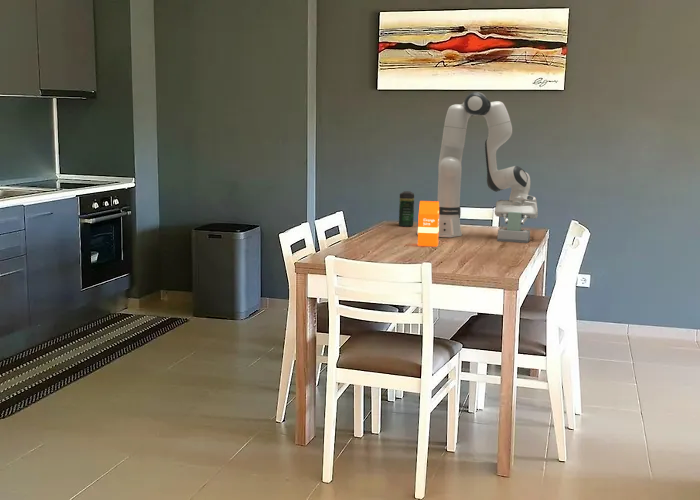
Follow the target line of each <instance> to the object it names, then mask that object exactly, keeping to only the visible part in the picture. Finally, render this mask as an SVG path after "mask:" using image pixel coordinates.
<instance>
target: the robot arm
mask: <svg viewBox="0 0 700 500" xmlns="http://www.w3.org/2000/svg"><path fill="white" fill-rule="evenodd" d="M464 98H465V99H464V101H463V102H462V103H461V104H460V103H459V104H458V103H455V104H452V105H450V106H449V107H448V109H447V112H446V115H445V119H444V124H443V125H444V126H443V131H442V137H441V146H440V152H439V157H438V159H439V160H438V172H437V173H438V177H437V198H436V199H437V201H439V238H455V237H461V236H463V234H462V233H463V232H462V229H461V221H460V220H461V219H460V218H461V215H462V213H461V212H462V209H461V206H460V204H461V188H462V187H461V186H462V185H461V184H462V160H463V154H464V148H465V144H466V136H467V135H466V134H467V129H468V128H467V127H468V123H469V122H468V121H469V119H470V118H471V117H474V116H483V118H484V119H485V121H486V125H487V130H488V135H487V136H488V137H487V138H486V140H485V142H484V151H485V152H484V153H485V162H486V163H485V164H486V185H487V186H488V189H490V190H492V191H494V192H497V193H498V192H500V191H504V190H506V189H511V191H510V194H509V199H500V200H497V201H496V203H495V209H494V215H495V217H499V218H503V219H504V224H505V225H506V224H507V223H508V212H521V213H522V217H521V222H520V223H521V226H522V225H524V224H525V222H526V221H528V219H535V220H536V219H537V218H538V216H539V215H538V214H539V213H538V212H539V211H538V210H539V209H538V201H537V198H536V197H535V196H533V195H529V193H530V191H531V177H530V174H529V173H528V172H526V171H525V170H524V169H523V168H521V166H518V165H513V166H508V167H506V168H502V169H498V163H497V151H498V150H499V148H500V147H501V146H502V145H504V144H505V143H506V142H507V141H508V140H510V138H511V137H512V135H513V125H512V121H511V117H510V115H509V112H508V110H507V107H506V105H505V103H504V102H502V101H498V100H497V101H496V100H495V101H490V100H489V98H488V97H486V95H485V94H484V93H482V92H480V91H473V92H470V93H469V94H468V95H466V97H464ZM416 235H417V236H418V230H417V231H416Z"/></svg>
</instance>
